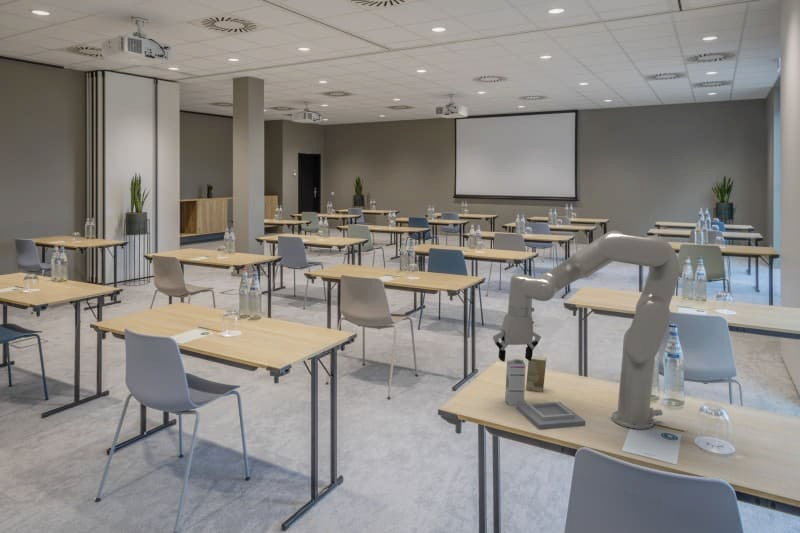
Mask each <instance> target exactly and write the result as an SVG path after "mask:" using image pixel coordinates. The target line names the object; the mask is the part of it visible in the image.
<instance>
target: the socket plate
mask: <svg viewBox="0 0 800 533" xmlns="http://www.w3.org/2000/svg"><path fill="white" fill-rule="evenodd" d="M515 409H516V411H517V412H519V413H520V414H521V415H522V416H523V417H525V418H526V419H527V420H528V421H529V422H530V423H531V424H532V425H534V426H535V428H537V429H538V430H547V429H561V428H570V427H571V428H573V427H582V426H583V427H584V426H586V422H587V421H586V420H585V419H584V418H582V417H581V416H579V415H578V414H577V413H575V412H574V411H573V410H572V409H570V408H569V407H567V406H566V405H565V404H564V403H562V402H561V401H548V402H534V403H524V404H522V405H516V408H515Z"/></svg>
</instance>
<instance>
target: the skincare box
mask: <svg viewBox="0 0 800 533" xmlns="http://www.w3.org/2000/svg"><path fill="white" fill-rule="evenodd" d="M527 361H528V363H527V372H526V381H525V390H526V391H533V392H538V393H544V389H545V388H544V387H545V386H544V385H545V377H546V367H547V366H546V365H547V357H546V356H539V355H533V354H532V358H531V361H529V360H527Z"/></svg>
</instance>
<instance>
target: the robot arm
mask: <svg viewBox="0 0 800 533" xmlns="http://www.w3.org/2000/svg"><path fill="white" fill-rule="evenodd" d="M612 262H617V263H623V264H629V265H634V266H635V265H636V266H642V267H648V273H647V276H646V280H645V284H644V286H643V290H642V291H641V295H640V297H639V299H638V301H637V302H636V305H635V314H634V317H633V319H632V322H631V324H630V326H629V327H628V329H627V330H626V331H625V333H624V335H623V341H622V342H623V343H622V357H621V369H620V378H619V379H620V380H619V390H618V400H617V410H616V411H614V412H612V414H611V419H612V421H613V422H615V423H616V424H618V425H620V426H623V427H626V428H628V427H629V429H633V428H635V429H636V430H648V429H651V428H653V426H654V419H653V418H654V417H655V416H656V417H658V416H662V415H663V410H662V409H654V407H651V400H652V392H653V390H652V389H653V381H654V380H653V379H654V373H655V372H654V370H655V361H656V356H657V354H658V352H659V350H660V347H661V345H662V342H663V339H664V338H665V334H666V332H667V329H668V326H669V323H670V320H671V310H670V305H671V302H672V299H673V296H674V292H675V290H676V288H677V283H678V280H679V276H680V261H679V258H678V255H677V252H676V250H675V248H673V247H672V244H670V243H669V242H668V241H667V240H666V239H665V238H663V237H661V236H659V235H655V234H654V235H649V236H647V237H644V236H636V235H631V234H630V235H629V234H625V233H623V232H621V231H619V230H610V231H608V232H606V233H605V234H602V235H601V236H600V237H598V238H597V239H595V240H594V241H592V242H590V243H588V244H587V245H585V246H584V247H582V248H581V249H580V250H577V251H576V252H575V253H573V254H572V255H571V256H569V257H567V258H566V259H565V260H563V261H562V262H561V263H559V264H557V265H556V266H554V267H553V268H551V269H550V270H548V271H547V272H545V273H544V274H543V273H542V275H540V276H539V277H538V278H533V277H532V275H529V274H522V273H517V274H513V275H511V277H510V284H509V296H508V308H507V313H505V314H504V317H503V321H502V324H501V331H500V332H498V333H496V334H495V335H493V336H492V340H493V341H494V344H495V345H496V346H497V348H498V358H499V360H500V361H501V362H502V363H505V362H506V353H507V351H506V348H507V347H508V346H515V345H516V346H519V345H526V347H525V356H524V358H525V359H526V360H527V361H531V358H532V355H533V350H535V347H536V346H537V345H538V344H539V342H540V340H541V339H542V336H541V335H539V334H537V333H536V332H534V321H533V316H532V313H533V312H535V308H534V307H532V303H533V302H532V300H536V301H541V302H548V301H550V300H552V299H553V298H554V296H555V294H557V293H558V292H559V291H561V290H563V289H564V288H566V287H567V286H569V285H570V284H572V283H573V282H576V281H578V280H581V279H585V278H588V277H590V276H591V275H593V274H595V273H597V272H598V271H600V270H601V269H603V268H604V267H606V266H608V265H609V264H611V263H612ZM533 338H534V340H533ZM499 339H500V340H499ZM500 341H501V342H500ZM647 428H648V429H647Z"/></svg>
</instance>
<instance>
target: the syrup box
mask: <svg viewBox="0 0 800 533" xmlns="http://www.w3.org/2000/svg"><path fill="white" fill-rule="evenodd" d="M526 366H527V365H526V363H525V361H524V360H523V359H517V358H515V359H514V358H512V359H511V358H510V359H507V360H506V376H505V392H504V394H505V396H504V398H505V399H504V400H505V402H506V404H507V405H511V406H517V405H522V404H525V392H526V391H525V390H526V370H527V368H526Z"/></svg>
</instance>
